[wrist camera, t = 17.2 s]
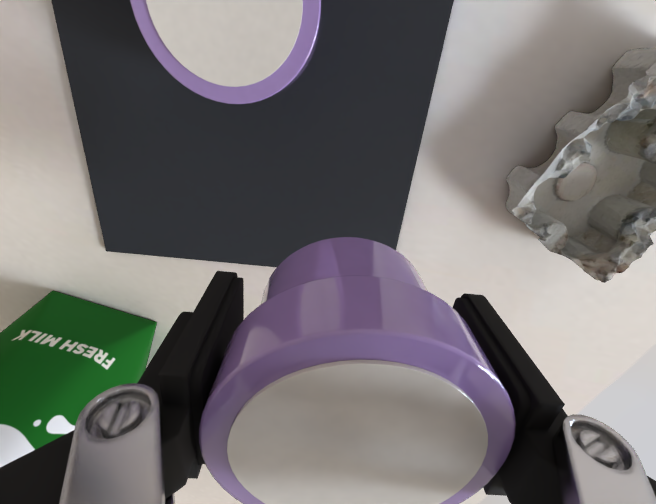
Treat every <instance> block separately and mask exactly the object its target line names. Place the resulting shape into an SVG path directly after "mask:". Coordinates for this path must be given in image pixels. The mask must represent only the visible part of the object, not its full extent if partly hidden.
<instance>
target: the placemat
mask: <svg viewBox="0 0 656 504" xmlns="http://www.w3.org/2000/svg"><path fill="white" fill-rule="evenodd" d="M453 1H454V0H321V25H320V32H319V37H318V41H317V44H316V47H315V50H314V53H313V55H312V57H311V59H310V61H309V63H308V65H307V67H306V68H305V70H304V71H303V72H302V74H301V75H300V76H299V77H298V78H297V79H296V81H295V82H294V83H293V84H291V85H290V86H289V87H288V88H286V89H285V90H284V91H282V92H280V93H279V94H277V95H275V96H272V97H270V98H267V99H264V100H261V101H258V102H254V103H248V104H227V103H221V102H216V101H213V100H210V99H207V98H205V97H203V96H201V95H199V94H196V93H194V92H193V91H191V90H190V89H188V88H187V87H185V86H184V85H182V84H181V83H180V82H179V81H177V80H176V79H175V78H174V77H173V76H172V75H171V74H170V73H169V72H168V71H167V70H166V69H165V68H164V67H163V66H162V65H161V63H160V62H159V61H158V60H157V58H156V57H155V56H154V54H153V52H152V51H151V49H150V48H149V46H148V45H147V43H146V41H145V39H144V37H143V35H142V33H141V31H140V29H139V26H138V24H137V21H136V19H135V16H134V13H133V9H132V6H131V2H130V0H52V5H53V9H54V14H55V18H56V23H57V28H58V32H59V37H60V41H61V46H62V51H63V55H64V60H65V64H66V69H67V74H68V78H69V83H70V87H71V92H72V97H73V101H74V106H75V110H76V115H77V120H78V124H79V129H80V133H81V138H82V142H83V147H84V152H85V156H86V161H87V165H88V170H89V175H90V179H91V184H92V188H93V193H94V198H95V202H96V207H97V211H98V216H99V221H100V225H101V230H102V234H103V239H104V244H105V248H106V251H111V252H121V253H132V254H143V255H153V256H164V257H174V258H185V259H196V260H206V261H217V262H227V263H238V264H249V265H259V266H270V267H278V266H279V265H280V264H281V263H282V262H283V261H284V260H285V259H286V258H287V257H288V256H290V255H291V254H293V253H294V252H296V251H297V250H299V249H301V248H303V247H305V246H307V245H309V244H312V243H315V242H318V241H321V240H325V239H330V238H338V237H357V238H363V239H369V240H372V241H376V242H379V243H382V244H384V245H386V246H389V247H391V248H392V249H394V250H396V246H397V242H398V237H399V233H400V229H401V224H402V220H403V216H404V212H405V207H406V203H407V199H408V194H409V190H410V186H411V181H412V177H413V173H414V168H415V164H416V160H417V156H418V151H419V147H420V143H421V138H422V134H423V130H424V125H425V121H426V117H427V113H428V108H429V104H430V100H431V95H432V91H433V87H434V82H435V78H436V74H437V70H438V65H439V61H440V57H441V52H442V48H443V44H444V39H445V35H446V31H447V26H448V22H449V18H450V14H451V9H452V5H453Z"/></svg>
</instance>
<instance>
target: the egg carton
mask: <svg viewBox="0 0 656 504" xmlns="http://www.w3.org/2000/svg"><path fill="white" fill-rule="evenodd" d="M612 73H613V77H614V80H613V85H612V91H613V92H612V93H611V95H610V97H609V99H608V100H607V101H606V102H605V103H604V104H603V105H602V106H601V107H600V108H599V109H597V110H596V111H595V112H592V113H589V114H585V113H580V112H573V111H570V112H569V113H567V114H566V115H565V116H563V118H562V119H561V120H560V121H559V122H558V123H557V124H556V126H555V130H556V134H557V137H558V140H557V142H556V150H555V151H554V153H553V154H552V155H551V157H550V158H549V159H548V160H547V161H546V162H545V163H543V164H541V165H539V166H538V167H534V168H526V167H523V166H521V165H519V166H516V167H515V168H514V169H513V170H512V171H511V173H510V174H509V176H508V177H507V182H508V184H509V191H510V193H509V197H508V200H507V202H506V208H507V210H508V211H510V212H511V214H513V215H514V216H516V217H517V218H519V219H520V220H521V221H523V222H524V223H526V226H527V227H528V228H529V229H530V230H531V231H532V232H534V233H535V234H537V235H538V236H540V238H539V239H538V240H539V241H540V242H541V243H542V244H543V245H544V246H545V247H546V248H547V249H548V250H549V251H551V252H554V253H558V254H560V255H563V256H565V257H567V258H569V259H571V260H572V261H573V262H575V263H576V264H577V265H578V266H580V267H581V268H582V269H583V270H584V271H585V272H586V273H588V274H589V275H590V276H592V277H593V278H594V279H596V280H600V281H601V282H604V283H605V282H606V281H609V280H611V279H612V277H613V276H614V274H615V273H622V272H624V271H625V270H626V269H627V268H628V267H629V266H630V264H631V263H632V262H633V261H635V260H636V259H639V258H641V256H642V254H643V253H644V252H645V251H646V250H647V248H648V247H649V246H650V245H652V244H654V243H653V242H652V240H651V238H650V234H651V233H652V232H654V231H655V230H656V48H646V49H644V48H639V49H635V50H629V51H627V52H626V53H625V54H624V55H623V56H622V57H621V58H620V59H619V60H618V61H617V62H616V64H615V65H614V66H613V68H612Z"/></svg>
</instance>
